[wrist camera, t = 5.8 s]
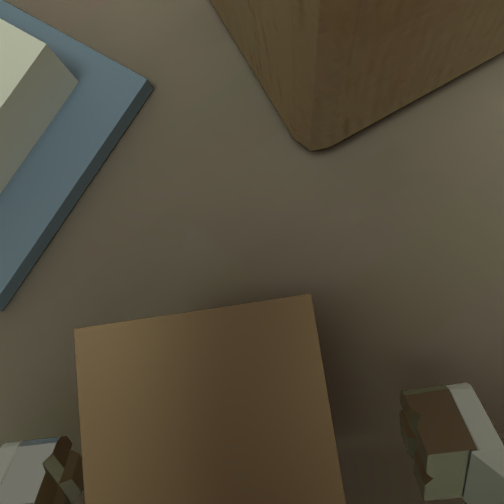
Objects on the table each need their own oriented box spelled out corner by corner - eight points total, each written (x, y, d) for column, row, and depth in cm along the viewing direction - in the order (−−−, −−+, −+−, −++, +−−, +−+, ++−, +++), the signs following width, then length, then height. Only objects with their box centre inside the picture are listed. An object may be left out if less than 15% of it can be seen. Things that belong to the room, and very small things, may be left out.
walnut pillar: (200, 456, 16) (91, 595, 8) (186, 331, 17) (73, 328, 9) (323, 440, 16) (356, 567, 7) (303, 314, 17) (310, 293, 8)
